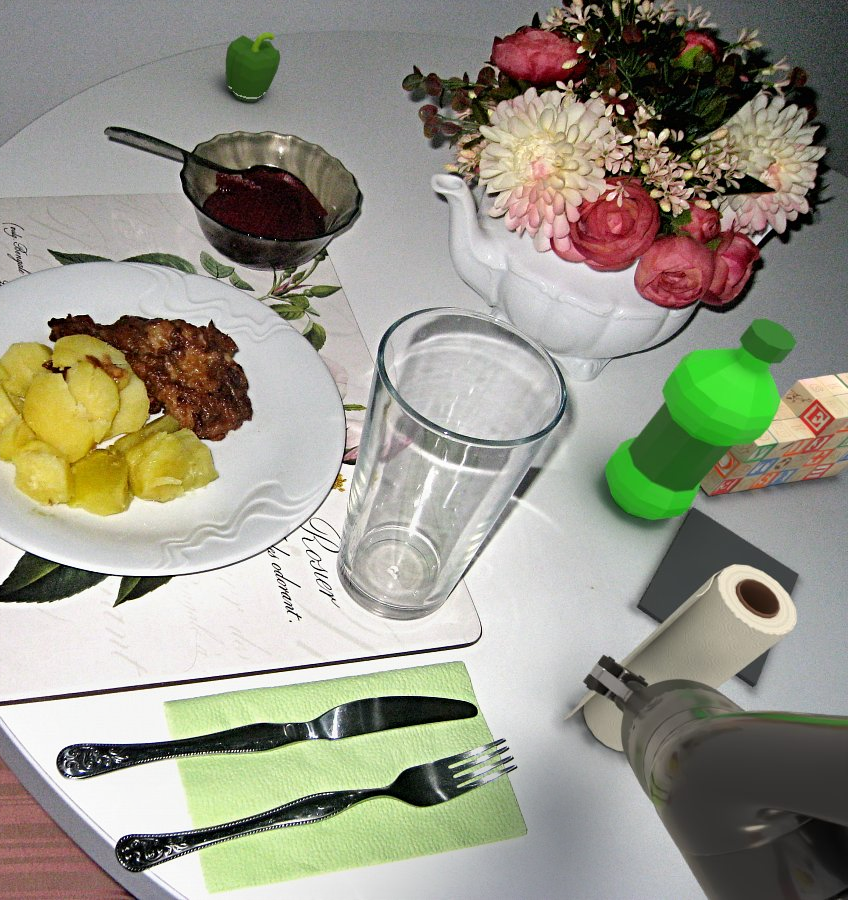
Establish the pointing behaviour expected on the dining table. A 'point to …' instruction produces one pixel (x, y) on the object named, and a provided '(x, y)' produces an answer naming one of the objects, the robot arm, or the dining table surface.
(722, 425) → the plastic bottle
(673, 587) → the mat
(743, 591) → the paper towel roll
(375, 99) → the dining table surface
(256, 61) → the bell pepper
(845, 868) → the robot arm
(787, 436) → the stack of blocks
